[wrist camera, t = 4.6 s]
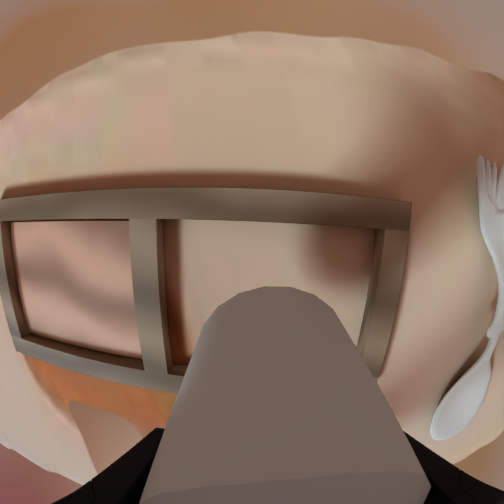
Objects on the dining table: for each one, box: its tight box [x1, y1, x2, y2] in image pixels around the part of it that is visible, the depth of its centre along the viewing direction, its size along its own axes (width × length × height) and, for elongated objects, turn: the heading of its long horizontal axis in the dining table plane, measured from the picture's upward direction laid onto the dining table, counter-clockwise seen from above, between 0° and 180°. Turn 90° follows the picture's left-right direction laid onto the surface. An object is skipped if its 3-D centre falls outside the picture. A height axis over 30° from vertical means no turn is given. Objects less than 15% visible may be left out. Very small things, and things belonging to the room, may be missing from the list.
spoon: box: [430, 155, 504, 441], centre depth 19 cm, size 9×32×4 cm, turn 6°
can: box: [139, 287, 431, 504], centre depth 8 cm, size 8×8×12 cm
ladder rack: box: [0, 187, 412, 394], centre depth 19 cm, size 16×36×2 cm, turn 88°
